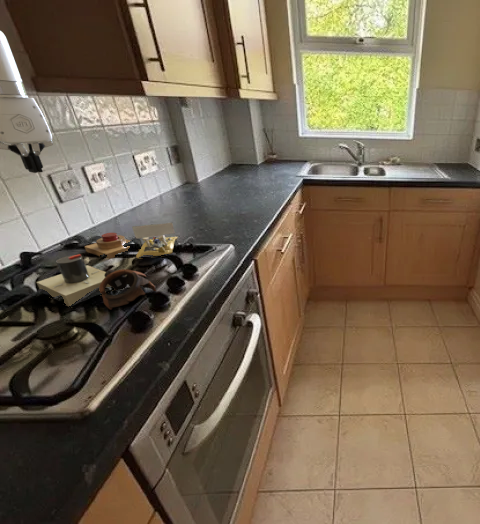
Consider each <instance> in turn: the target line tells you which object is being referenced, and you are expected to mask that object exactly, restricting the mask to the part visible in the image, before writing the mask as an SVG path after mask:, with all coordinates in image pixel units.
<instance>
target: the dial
mask: <svg viewBox="0 0 480 524" xmlns="http://www.w3.org/2000/svg"><path fill="white" fill-rule="evenodd" d="M55 262H56V265H57V268H58V270H59V272H60V274H62V277H63V279H64V281H65V283H77V282H81V281H84V280H86V279H88V278H89V273H88V271H87V268H86V266H87V265H86V263H85V260H84V259H83V256H82V254H80V253H78V254H73V255H72V254H71V255H67V256H63V257H60V258H59V259H57V260H56V261H55Z"/></svg>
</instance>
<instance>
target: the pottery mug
mask: <svg viewBox="0 0 480 524" xmlns="http://www.w3.org/2000/svg"><path fill="white" fill-rule="evenodd" d="M105 272H106V273H105V275H104V276H105V278H104V279H103V281H102V282H101V284H100V287H99V291H100V293H101V294H102V295H101V297H102V301H103V305H104V306H105V307H106V308H107V309H109V310H113V308H118V307H121V306H125V305H128V304H130V302H133V301H135V300H136V299H138V297H140V296H145V295H146V292H145V291H144V290H143V289H144V288H147V289H151V290H152V291H153V292H154V291H156V292H157V290H156V286H155V285H154V284H153V283H152V282H151V280H149V279H148V277H147V275H146V274H145V273H143V272H141V271H136V270H133V269H132V270H131V269H127V268H126V269H124V268H122V269H117V270H114V269H108V270H107V271H105ZM107 284H108V285H110V286H111V287H113V288H114V290H113V291H116V290H118V289H123V288H125V287H126V288H127V287H129V288H128V289H127V290H125V291H123V292H122V293H119V294H114V295H113V294H108V293H106V291H105V288H106V286H107ZM140 286H143V287H144V288H141V287H140ZM126 288H125V289H126Z"/></svg>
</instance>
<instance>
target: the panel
mask: <svg viewBox="0 0 480 524" xmlns="http://www.w3.org/2000/svg"><path fill="white" fill-rule="evenodd" d="M86 268H87V271H88V273H89V278H88V279H86V280H84V281H81V282H77V283H65V281H64V279H63V277H62V274H61V273H60V274H57V275H54V276H51V277H48V278H44V279H42V280H38V281H36V284H37V287H38V289H39V290H40V289H43V290H45V291H47V292H48V293H49V294H50V295H51V296H52V297H56V296H59V295H61V296H62V297H63V299H64V303H65V304H66V305H65V306H66V307H68V308H70V307H69V306H71V305H72V304H74V303H75V302H76V301H78V300H79V299H81V298H82V297H84V296H85V295H86V294H87V293H89V292H91V291H93V290H94V289H96V288H98V287H100V284H101V282H102V281H103V279H104V278H105V276H104V275H105V273H106V272H107V271H104V270H102V269H98V268H96V267H93V266H91V265H89V264H88V265H86ZM106 287H110V285H108V284H107V286H106Z"/></svg>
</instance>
